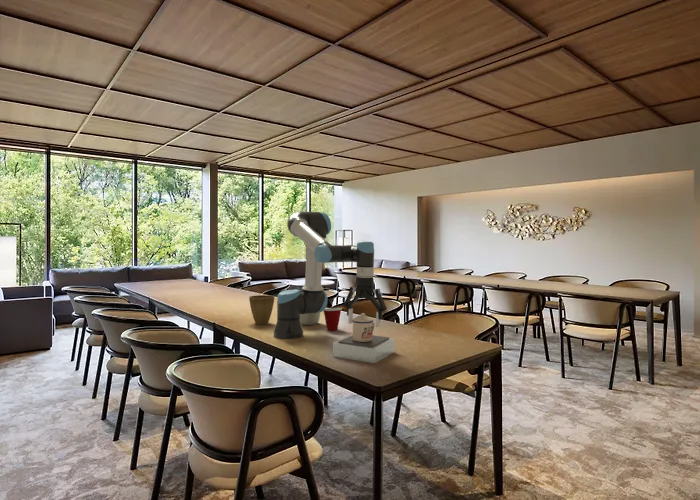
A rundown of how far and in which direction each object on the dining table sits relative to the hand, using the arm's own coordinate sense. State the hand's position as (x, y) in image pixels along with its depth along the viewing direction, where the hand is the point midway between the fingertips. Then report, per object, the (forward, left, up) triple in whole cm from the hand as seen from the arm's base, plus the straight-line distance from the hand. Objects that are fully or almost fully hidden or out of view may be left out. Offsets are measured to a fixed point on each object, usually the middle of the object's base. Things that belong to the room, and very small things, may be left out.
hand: (364, 325), depth 187 cm
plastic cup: (-38, +36, -13) cm, 54 cm away
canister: (-59, +43, -13) cm, 74 cm away
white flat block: (0, +2, -13) cm, 13 cm away
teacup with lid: (0, 0, -7) cm, 7 cm away
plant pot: (-83, +30, -13) cm, 89 cm away
